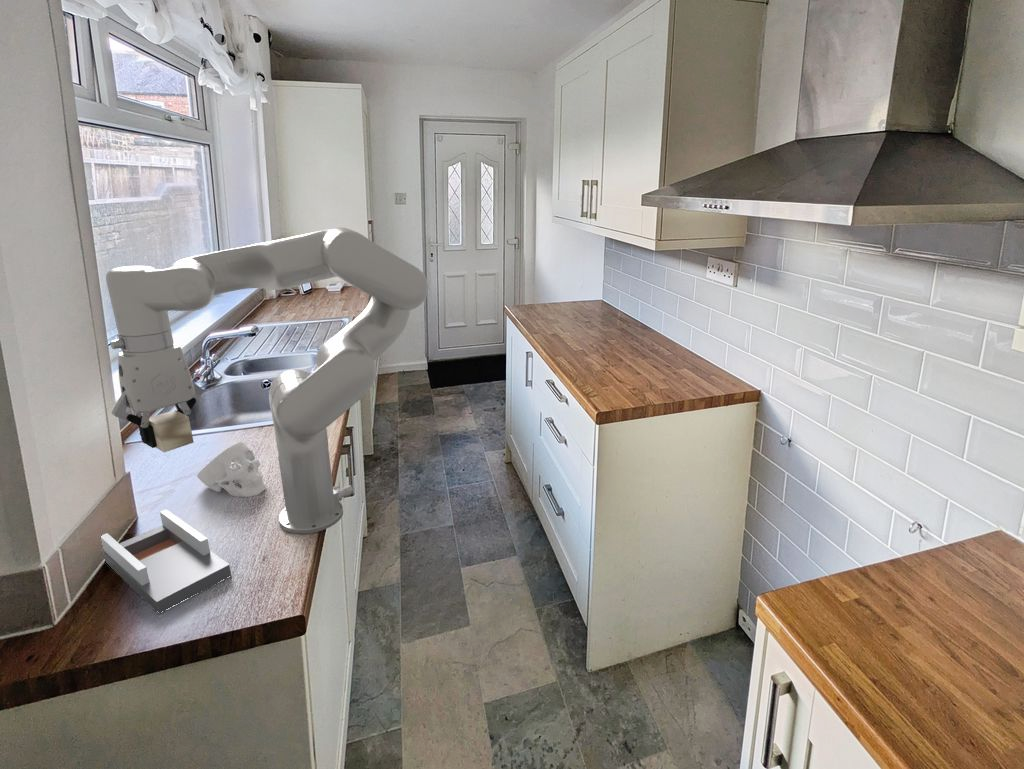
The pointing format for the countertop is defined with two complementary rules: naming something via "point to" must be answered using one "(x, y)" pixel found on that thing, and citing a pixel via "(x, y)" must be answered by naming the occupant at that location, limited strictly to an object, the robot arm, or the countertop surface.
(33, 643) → the countertop surface
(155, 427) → the block
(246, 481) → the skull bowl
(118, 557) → the gray tray
